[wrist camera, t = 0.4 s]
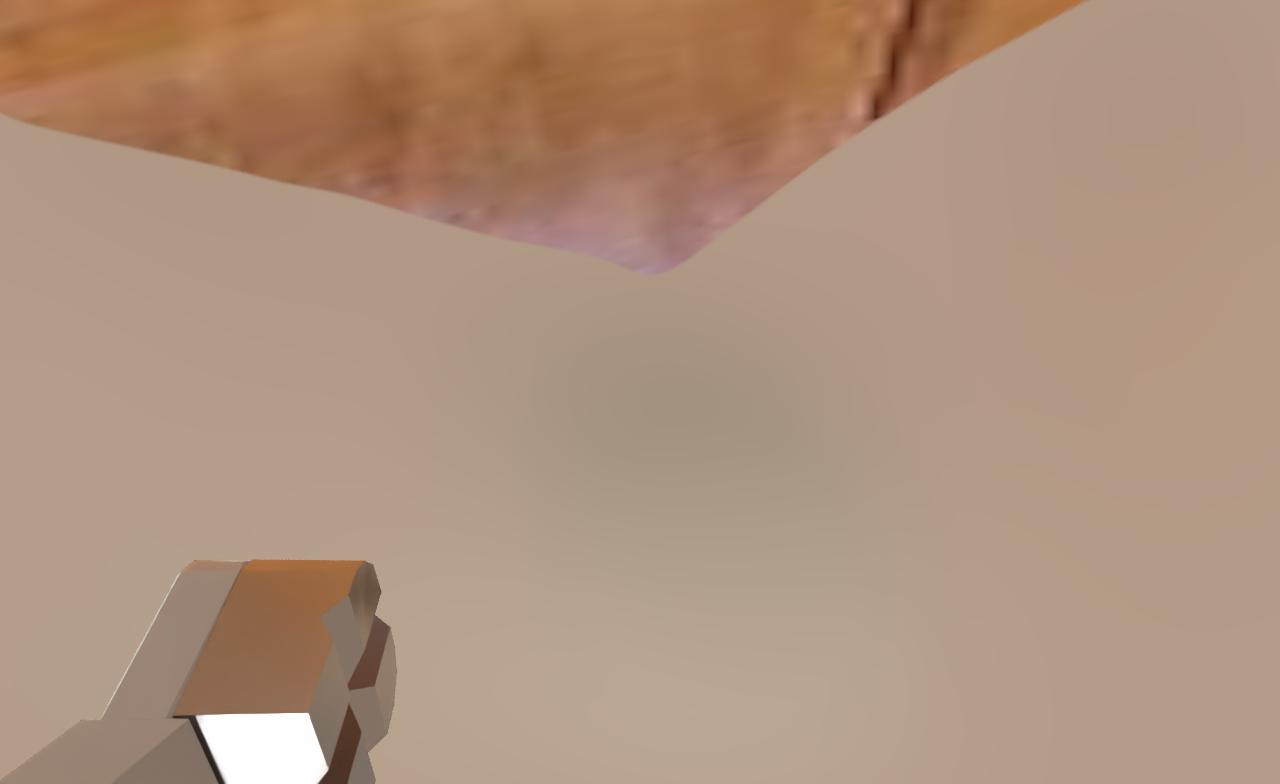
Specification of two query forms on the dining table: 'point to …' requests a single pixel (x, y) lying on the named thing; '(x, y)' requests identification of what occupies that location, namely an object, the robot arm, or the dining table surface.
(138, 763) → the robot arm
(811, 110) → the dining table surface
